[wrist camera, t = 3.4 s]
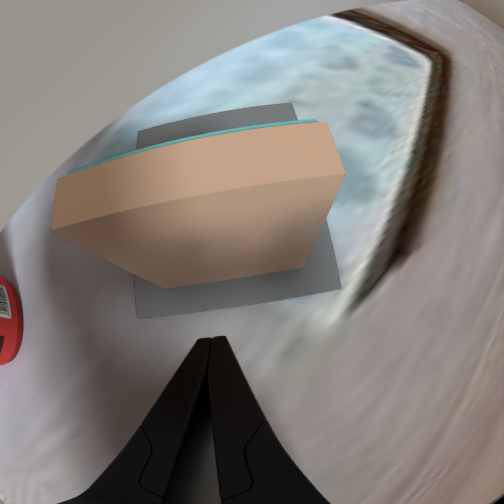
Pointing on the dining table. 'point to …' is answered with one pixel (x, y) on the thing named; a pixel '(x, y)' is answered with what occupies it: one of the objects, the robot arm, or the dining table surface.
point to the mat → (245, 288)
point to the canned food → (9, 322)
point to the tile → (206, 203)
